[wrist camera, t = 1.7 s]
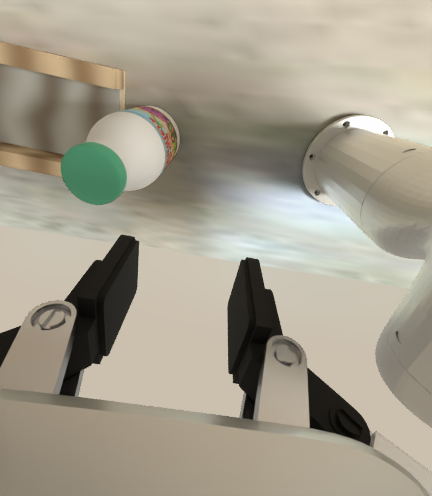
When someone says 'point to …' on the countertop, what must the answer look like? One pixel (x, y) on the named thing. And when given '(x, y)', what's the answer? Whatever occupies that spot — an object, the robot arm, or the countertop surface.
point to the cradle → (51, 105)
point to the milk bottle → (121, 154)
